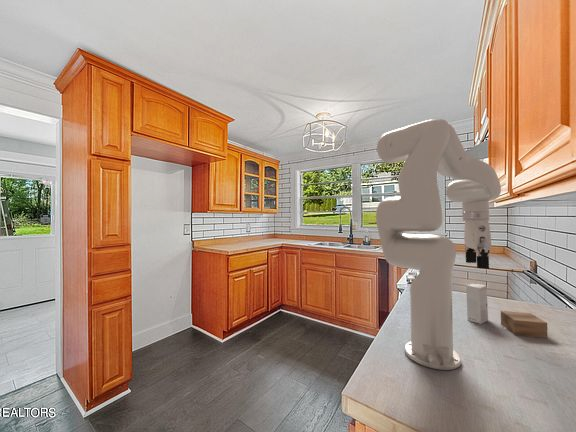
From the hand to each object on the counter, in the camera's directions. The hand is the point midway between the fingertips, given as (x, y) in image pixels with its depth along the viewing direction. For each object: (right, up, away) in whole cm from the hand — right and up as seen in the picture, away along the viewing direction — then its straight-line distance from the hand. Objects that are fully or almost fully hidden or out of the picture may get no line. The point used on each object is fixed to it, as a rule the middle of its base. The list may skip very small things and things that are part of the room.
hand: (476, 265), depth 88 cm
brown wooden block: (+8, -19, -9) cm, 22 cm away
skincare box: (0, -19, 0) cm, 19 cm away
